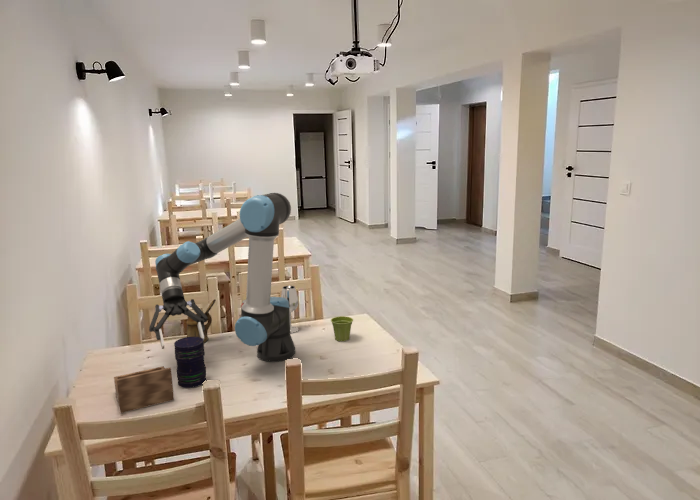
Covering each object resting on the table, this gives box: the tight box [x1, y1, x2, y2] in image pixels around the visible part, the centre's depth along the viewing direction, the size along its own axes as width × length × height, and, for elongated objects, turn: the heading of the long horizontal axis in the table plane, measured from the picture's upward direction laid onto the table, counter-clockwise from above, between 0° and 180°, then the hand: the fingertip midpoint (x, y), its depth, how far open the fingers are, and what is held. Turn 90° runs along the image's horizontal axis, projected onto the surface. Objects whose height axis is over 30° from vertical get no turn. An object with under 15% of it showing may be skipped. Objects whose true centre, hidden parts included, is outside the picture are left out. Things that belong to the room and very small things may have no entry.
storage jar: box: [173, 336, 207, 389], centre depth 173 cm, size 10×10×15 cm
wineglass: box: [280, 285, 299, 334], centre depth 220 cm, size 8×8×20 cm
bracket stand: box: [113, 366, 175, 414], centre depth 164 cm, size 16×16×11 cm
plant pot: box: [330, 315, 354, 342], centre depth 210 cm, size 9×9×9 cm
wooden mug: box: [186, 299, 216, 344], centre depth 210 cm, size 9×14×18 cm, turn 102°
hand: (183, 343), depth 176 cm, fingers open, 13 cm apart
